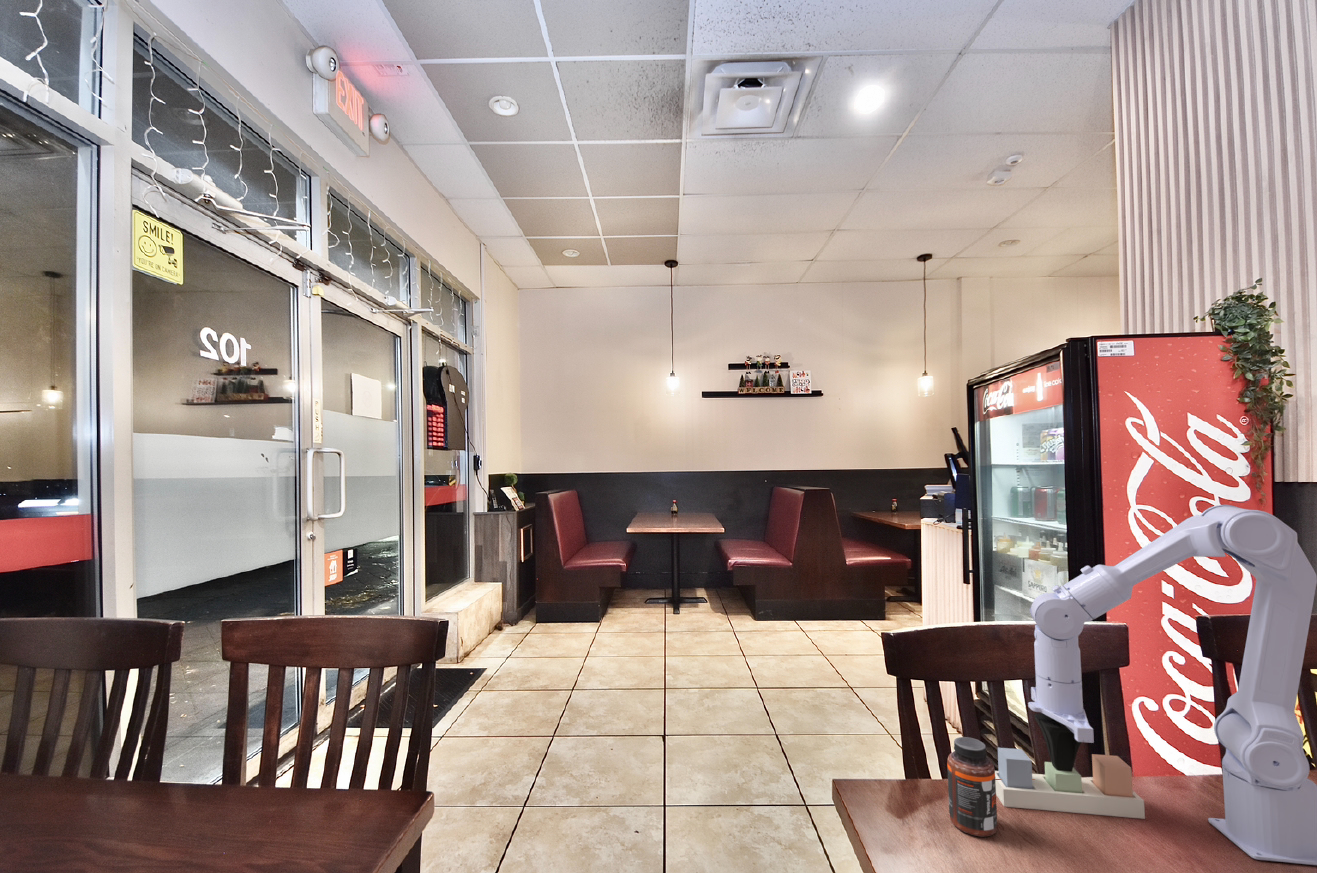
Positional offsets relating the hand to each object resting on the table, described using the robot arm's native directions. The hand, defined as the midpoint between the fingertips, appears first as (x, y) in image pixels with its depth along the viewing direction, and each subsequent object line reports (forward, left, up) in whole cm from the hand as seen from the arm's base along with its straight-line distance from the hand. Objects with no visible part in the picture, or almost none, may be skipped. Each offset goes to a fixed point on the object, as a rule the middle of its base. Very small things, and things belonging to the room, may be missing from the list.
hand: (1062, 768), depth 86 cm
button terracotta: (-7, 0, -3) cm, 7 cm away
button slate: (+6, 0, -3) cm, 7 cm away
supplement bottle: (+15, +8, -5) cm, 18 cm away
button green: (0, 0, -4) cm, 4 cm away
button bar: (0, 0, -5) cm, 5 cm away
